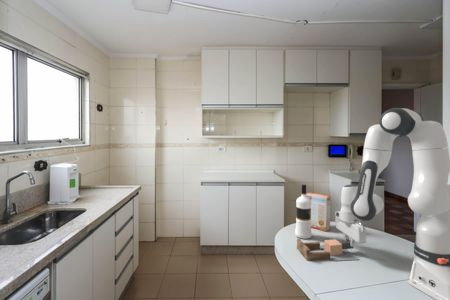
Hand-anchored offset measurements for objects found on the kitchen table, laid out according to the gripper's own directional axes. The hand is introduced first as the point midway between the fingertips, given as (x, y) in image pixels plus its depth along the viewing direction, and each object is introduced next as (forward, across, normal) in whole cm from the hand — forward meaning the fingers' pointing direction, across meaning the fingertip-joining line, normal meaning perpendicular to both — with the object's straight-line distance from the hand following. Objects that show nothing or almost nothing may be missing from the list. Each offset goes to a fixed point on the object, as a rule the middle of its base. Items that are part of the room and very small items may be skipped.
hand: (349, 244), depth 125 cm
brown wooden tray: (+4, 0, +18) cm, 18 cm away
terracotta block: (+3, 0, +5) cm, 6 cm away
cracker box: (+4, +33, +1) cm, 33 cm away
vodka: (+4, +21, +15) cm, 26 cm away
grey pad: (+4, 0, +6) cm, 7 cm away
